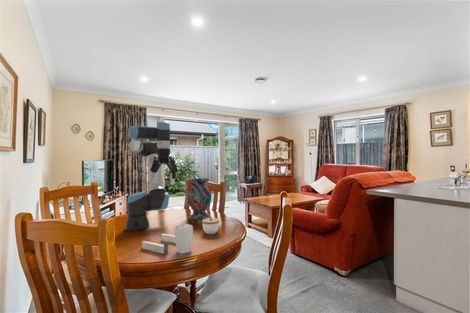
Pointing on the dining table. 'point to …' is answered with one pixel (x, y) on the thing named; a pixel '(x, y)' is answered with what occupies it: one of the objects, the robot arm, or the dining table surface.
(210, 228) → the lidded jar
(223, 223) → the dining table surface
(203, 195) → the vase
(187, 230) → the cup
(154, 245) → the pair of white bars
